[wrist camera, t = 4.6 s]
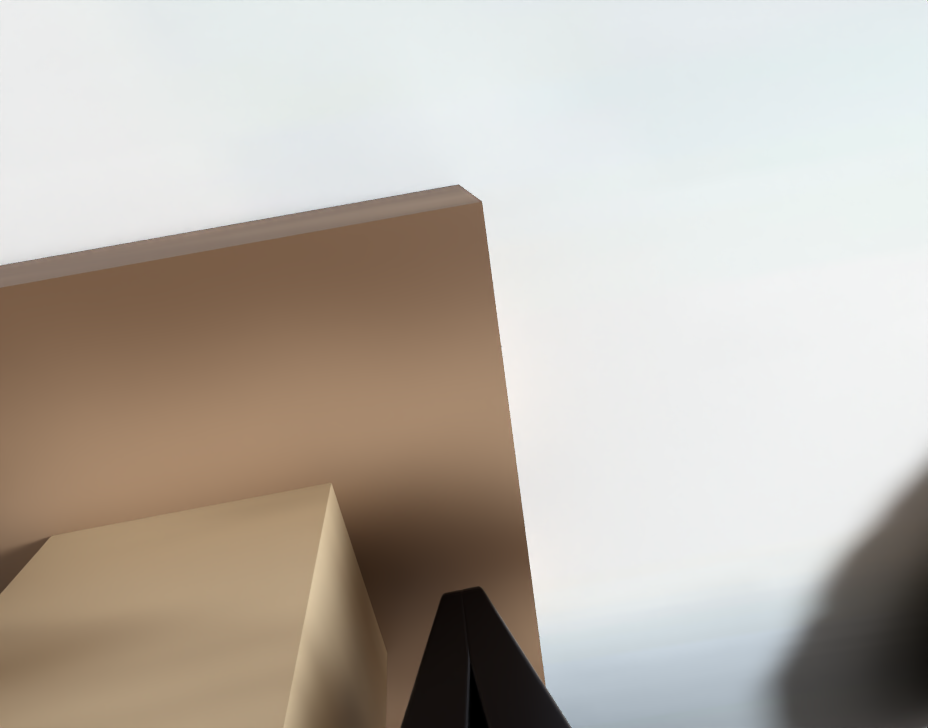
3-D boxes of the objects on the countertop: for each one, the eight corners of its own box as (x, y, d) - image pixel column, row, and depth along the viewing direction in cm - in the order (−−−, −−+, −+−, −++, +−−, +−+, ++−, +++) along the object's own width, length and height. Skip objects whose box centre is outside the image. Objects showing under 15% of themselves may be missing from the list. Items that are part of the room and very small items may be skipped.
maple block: (387, 653, 11) (380, 953, 7) (165, 700, 11) (24, 1040, 7) (331, 482, 9) (274, 774, 5) (51, 535, 9) (-263, 893, 4)
